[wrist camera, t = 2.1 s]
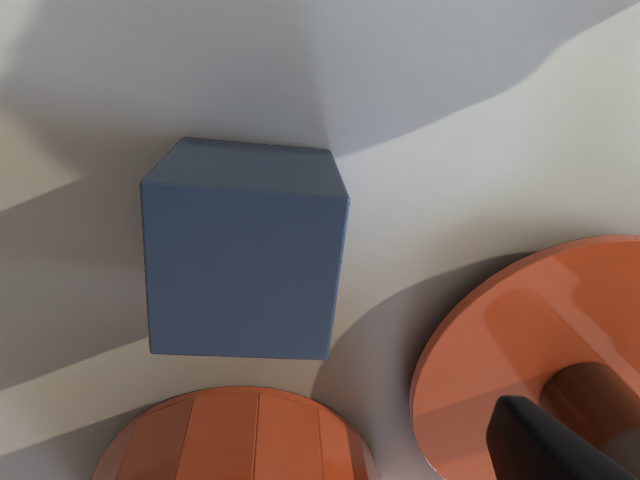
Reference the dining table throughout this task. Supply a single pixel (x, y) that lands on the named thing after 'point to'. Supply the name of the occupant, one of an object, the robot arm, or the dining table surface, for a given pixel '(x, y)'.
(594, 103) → the dining table surface
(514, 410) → the robot arm
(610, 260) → the lid
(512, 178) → the dining table surface
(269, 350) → the block
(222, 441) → the crock
